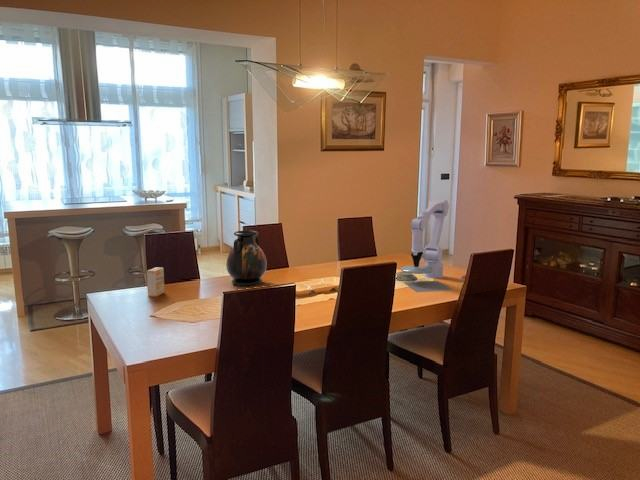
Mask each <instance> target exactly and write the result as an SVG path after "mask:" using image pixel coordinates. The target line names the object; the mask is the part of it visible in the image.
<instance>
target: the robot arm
mask: <svg viewBox="0 0 640 480" xmlns="http://www.w3.org/2000/svg"><path fill="white" fill-rule="evenodd" d="M449 207H450V204H449V202H448V200H446V199H443V200H442V199H432V198H431V199H430V200H429V202H428V207H427V208H426V209H425V210H424V211H421V213H420V214H418V216H416V218H413V219H411V221H410V225H409V226H410V229H411V230H410V231H411V233H412V235H411V249H410V250H411V252H412V253H411V254H410V255H411V258H412V262H413V266H414V267H418V266H419V261H420V262H421V259H422V260H424V262H425V265H424V266H427V267H431V268H433V272H431V273H425V274H422V276H424V277H425V278H426V279H442V278H444V264H443V262H442V261H441V260H442V258H443V248H442V247H441V246H440V240H441V237H442V231H443V227H444V222H445V217H447V216H448V213H449ZM432 215H433V216H434V222H433V225H432V226H433V227H432V232H431V237H430V240H429V243H428V244H427V245H425V246H424V230H425V229H426V226H427V223H428V222H429V221H430V219H431V216H432Z"/></svg>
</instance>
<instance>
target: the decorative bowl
mask: <svg viewBox="0 0 640 480" xmlns="http://www.w3.org/2000/svg"><path fill="white" fill-rule="evenodd" d="M396 274H397V280H396V281H397V282H416V281H417V280H418V277H417V276H416V275H414V274H412V273H406V272H403V271H398V272H396Z"/></svg>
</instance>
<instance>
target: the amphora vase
mask: <svg viewBox="0 0 640 480" xmlns="http://www.w3.org/2000/svg"><path fill="white" fill-rule="evenodd" d="M233 235H234V236H236V237H237V238H235V240H234V241H233V246H232V249H231V250H230V251H229V253H228V255H227V258H226V265H225V266H226V270H227V271H226V272H227V273H228V274H229V276H230V277H231V278H232V280H231V283H232V285H233V286H234V285H235V286H236V285H237V287H243V286H248V287H255V286H254V285H256V286H258V284H259V285H260V284H262V283H263V278H262V277H263V276H264V275H265V273H266V271H267V266H268V265H267V264H268V262H267V258H266V255H265V253H264V250H263V249H262V248H261V247H260V246H259V245H260V243H259V242H260V241H259V238H258V235H259V232H258V231H255V230H239V231H235V232H234V233H233Z"/></svg>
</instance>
